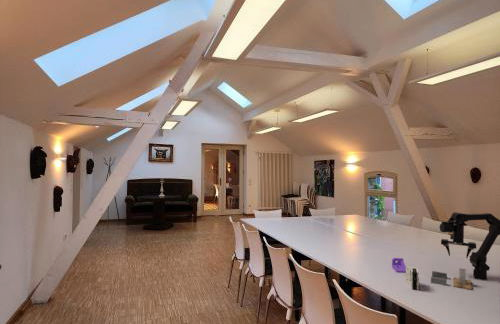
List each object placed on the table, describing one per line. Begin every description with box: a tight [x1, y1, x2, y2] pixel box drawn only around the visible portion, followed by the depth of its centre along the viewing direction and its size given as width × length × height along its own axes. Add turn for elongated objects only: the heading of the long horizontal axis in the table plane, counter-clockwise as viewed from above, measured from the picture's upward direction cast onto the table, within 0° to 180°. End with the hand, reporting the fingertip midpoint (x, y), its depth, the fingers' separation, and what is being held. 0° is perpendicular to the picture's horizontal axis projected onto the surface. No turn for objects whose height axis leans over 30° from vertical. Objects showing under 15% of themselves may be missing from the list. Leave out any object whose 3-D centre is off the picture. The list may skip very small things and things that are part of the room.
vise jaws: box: [430, 270, 448, 286], centre depth 199 cm, size 8×16×3 cm, turn 148°
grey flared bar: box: [458, 268, 467, 285], centre depth 193 cm, size 3×8×8 cm, turn 147°
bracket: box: [391, 257, 406, 274], centre depth 219 cm, size 12×7×7 cm, turn 170°
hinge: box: [405, 264, 420, 291], centre depth 189 cm, size 14×5×10 cm, turn 168°
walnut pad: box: [452, 277, 473, 291], centre depth 193 cm, size 9×16×1 cm, turn 148°
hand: (458, 257), depth 205 cm, fingers open, 9 cm apart
